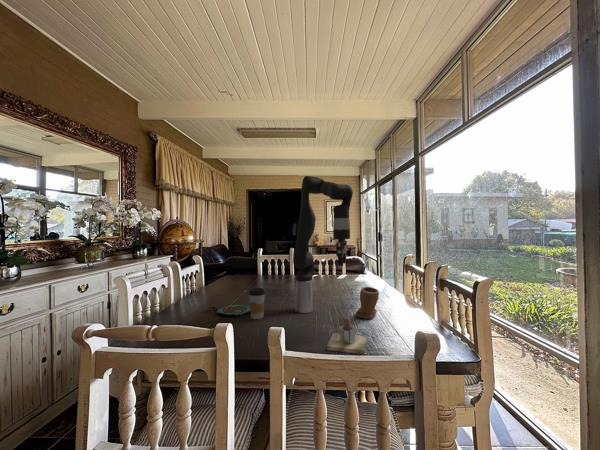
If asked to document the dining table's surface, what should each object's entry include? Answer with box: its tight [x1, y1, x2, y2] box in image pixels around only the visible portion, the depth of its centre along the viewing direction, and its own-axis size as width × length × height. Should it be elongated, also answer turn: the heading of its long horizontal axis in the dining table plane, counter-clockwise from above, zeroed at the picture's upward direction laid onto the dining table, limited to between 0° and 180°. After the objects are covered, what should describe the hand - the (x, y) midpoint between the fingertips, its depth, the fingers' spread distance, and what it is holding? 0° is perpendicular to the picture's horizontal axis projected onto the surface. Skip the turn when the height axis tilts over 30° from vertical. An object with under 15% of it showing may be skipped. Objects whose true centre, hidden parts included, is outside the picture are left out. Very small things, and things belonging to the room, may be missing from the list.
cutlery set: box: [216, 304, 251, 317], centre depth 164 cm, size 20×30×2 cm, turn 67°
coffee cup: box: [248, 287, 266, 319], centre depth 150 cm, size 8×8×15 cm
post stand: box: [326, 316, 368, 355], centre depth 115 cm, size 14×14×10 cm
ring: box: [339, 325, 356, 344], centre depth 115 cm, size 6×6×5 cm
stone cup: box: [355, 286, 380, 319], centre depth 151 cm, size 15×12×15 cm
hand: (342, 264), depth 130 cm, fingers open, 8 cm apart
